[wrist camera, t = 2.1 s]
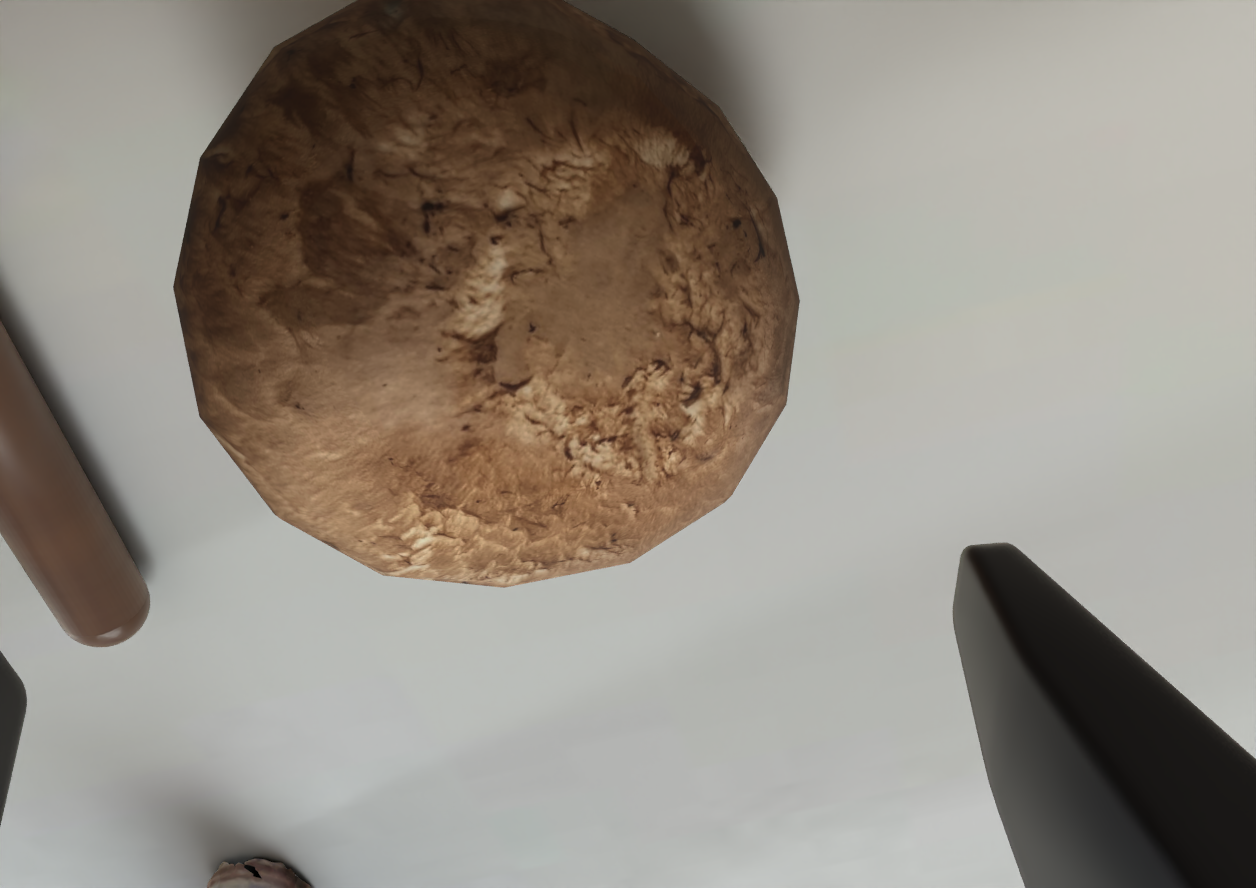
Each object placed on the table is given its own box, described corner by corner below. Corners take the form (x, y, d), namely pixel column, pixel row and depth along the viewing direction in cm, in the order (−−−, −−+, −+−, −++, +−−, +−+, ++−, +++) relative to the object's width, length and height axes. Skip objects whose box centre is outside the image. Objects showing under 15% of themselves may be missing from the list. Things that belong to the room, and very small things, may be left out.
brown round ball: (313, 629, 17) (382, 796, 12) (72, 141, 15) (9, 50, 9) (729, 422, 20) (957, 475, 14) (572, -24, 18) (764, -178, 12)
